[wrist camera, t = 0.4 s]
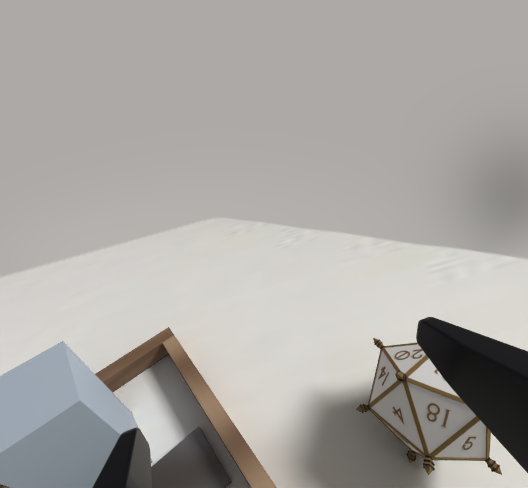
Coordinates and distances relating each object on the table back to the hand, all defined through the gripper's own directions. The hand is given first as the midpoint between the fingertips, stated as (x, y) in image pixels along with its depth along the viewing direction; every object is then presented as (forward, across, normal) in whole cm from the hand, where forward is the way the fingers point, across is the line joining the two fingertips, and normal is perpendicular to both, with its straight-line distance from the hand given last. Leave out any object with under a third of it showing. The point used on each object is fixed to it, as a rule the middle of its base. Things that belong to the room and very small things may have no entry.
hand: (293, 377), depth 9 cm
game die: (+5, -10, +16) cm, 20 cm away
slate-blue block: (+10, +12, +15) cm, 22 cm away
